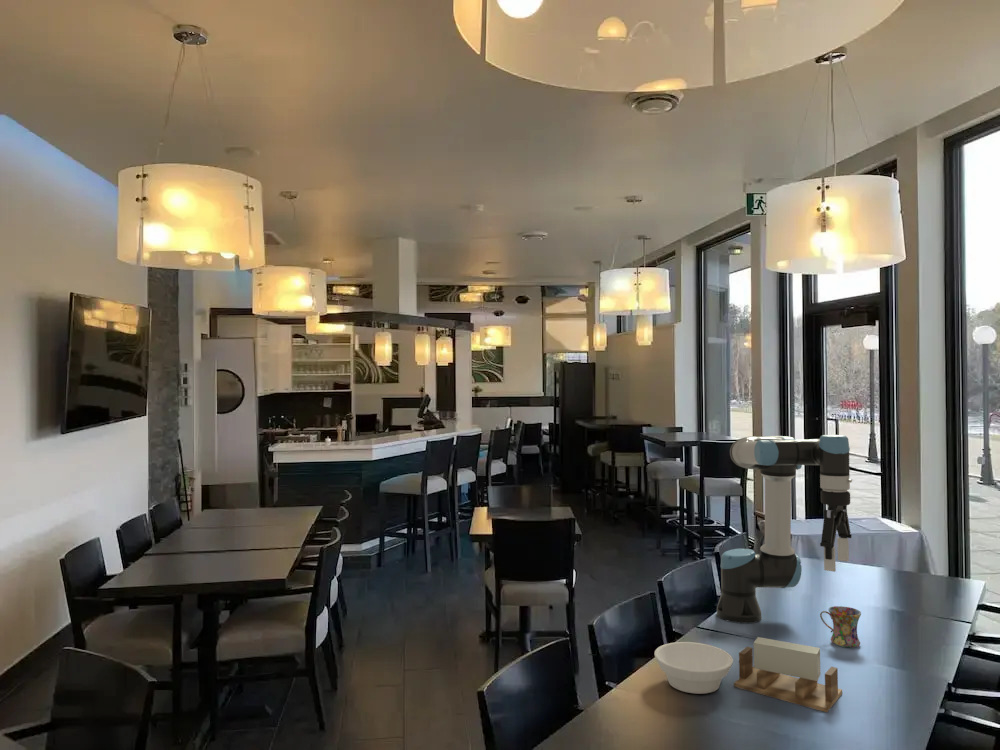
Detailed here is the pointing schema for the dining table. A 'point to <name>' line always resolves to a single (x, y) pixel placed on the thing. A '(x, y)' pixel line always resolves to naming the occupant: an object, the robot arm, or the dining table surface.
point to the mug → (844, 625)
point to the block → (787, 658)
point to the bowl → (693, 666)
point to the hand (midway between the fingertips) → (836, 565)
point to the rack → (788, 685)
